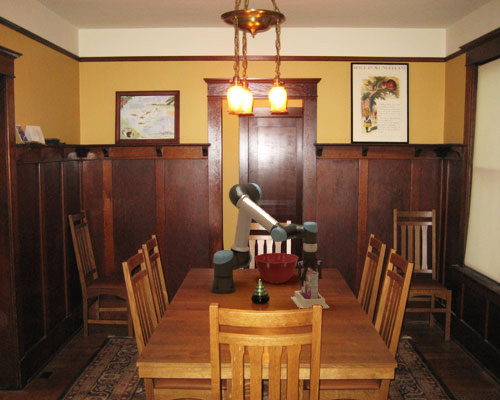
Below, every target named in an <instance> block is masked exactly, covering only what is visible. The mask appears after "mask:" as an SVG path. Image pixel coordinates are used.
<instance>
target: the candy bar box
mask: <svg viewBox="0 0 500 400" xmlns="http://www.w3.org/2000/svg"><path fill="white" fill-rule="evenodd" d="M303 270H304V267H302V271H301V274H302V273H303ZM318 274H319V273H318V271H317V270H316V271H313V269H312V268H311V267H310V268H308V270H307V273H306V276H305V279H304V280H305V293H304V292H303V287H302V286H301V285H300V288H301V290H300V291H301V295H302V296H303V297H304V299H318V293H319V281H318Z"/></svg>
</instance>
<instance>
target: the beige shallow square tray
mask: <svg viewBox="0 0 500 400" xmlns="http://www.w3.org/2000/svg"><path fill="white" fill-rule="evenodd" d="M290 299H291V301H292V302H293V303H294V304H295V305H296V306H297V308H298V309H299V310H300V308H309V307H312V305H314V304H319V305H322V306H323V308H322V309H330V306H329V305H328V304H327V303H326V299H325V298H324V296H322V295H321V294H320V293H319V292H318V299H304V297H303V296H302V295H301V290H294V296H290Z"/></svg>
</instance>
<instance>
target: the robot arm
mask: <svg viewBox="0 0 500 400" xmlns="http://www.w3.org/2000/svg"><path fill="white" fill-rule="evenodd" d="M262 196H263V194H262V189H261V187H260V186H259V185H258V184H256V183H253V182H247V183H238V184H234V185H232V187H231V188H229V191H228V199H229V201H230V203H231V204H232V205H233V206H234V207H236V209H238V214H237V220H236V227H235V234H234V239H233V244H232V245H230V249H224V250H218V251H216V252H215V253H214V254H213V260H212V261H213V279H212V282H211V286H210V291H211V292H212V293H215V294H221V295H222V294H223V295H224V294H227V295H228V294H232V293H235V292H236V291H237V286H236V283H235V279H234V271H238V270H240V269H241V270H242V269H244V268H246V267H248V266H250V264H251V262H252V260H253V255H252V253H251V250H250V247H249V239H250V232H251V227H252V221H255V222H256V223H257V224H258V225H259V226H261V227H262V228H263V229H265V230H266V231H267V232H268V233H269V234H270V237H271V240H273V242H275V243H280V242H281V243H282V242H284V241H288V240H293V239H301V240H303V241H302V243H303V247H302V249H303V251H302V254H303V255H302V260H301V261H297V266H298V267H297V279H298V281H300V287H301V286H302V287H303V292H304V293H305V280H304V279H305V276H306V273H307V270H308V268H310V269H312V270H313V271H316V272H317V273H319V274H318V282H319V281H320V280H322V278H323V275H322V265H323V261H321V260H318V251H317V250H318V231H319V230H318V223H317V222H315V221H304V222H303V224H296V223H286V224H285V225H282V224H281V223H280V222H279V221H277V220H276V219H275V218H274V217H272V216H271V215H270V214H269V213H268V212H266V211H265V210H264V209H263V208H261V206H259V205H258V202H259V201H260V200H261V199H262ZM303 265H304V266H303ZM316 265H317V268H316ZM303 268H304V270H303V273H302V269H303Z"/></svg>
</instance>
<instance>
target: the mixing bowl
mask: <svg viewBox="0 0 500 400" xmlns="http://www.w3.org/2000/svg"><path fill="white" fill-rule="evenodd" d="M253 259H254V260H255V264H256V267H257V270H258V272H259V275H260V276H261V278H262V279H263V280H264V281H265V282H266V283H270V284H284V283H287V281H289V280H290V279H291V278H292V277H293V275H294V272H295V270H296V269H297V266H298V260H299V256H297V255H296V254H292V253H286V252H285V253H284V252H269V253H268V252H267V253H261V254H260V253H259V254H258V255H255V256H254V258H253Z"/></svg>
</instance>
